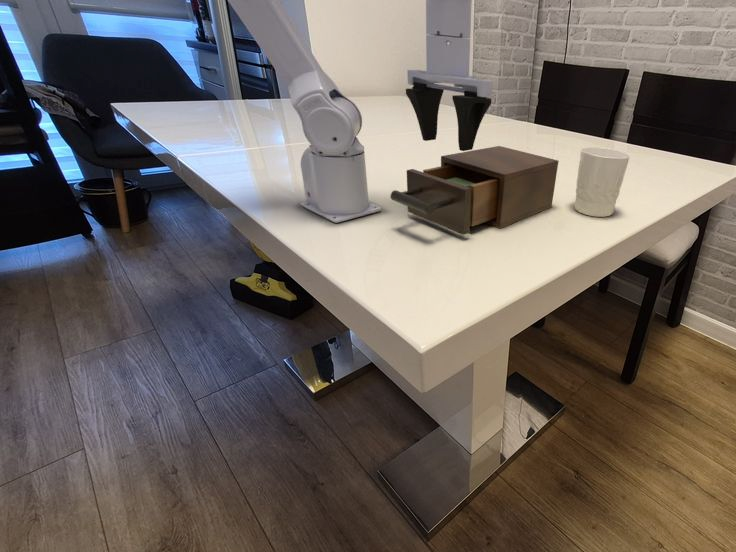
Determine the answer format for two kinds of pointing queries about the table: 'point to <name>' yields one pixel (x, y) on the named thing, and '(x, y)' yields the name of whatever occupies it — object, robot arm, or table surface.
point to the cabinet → (512, 180)
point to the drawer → (450, 197)
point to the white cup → (599, 180)
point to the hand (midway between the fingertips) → (447, 144)
